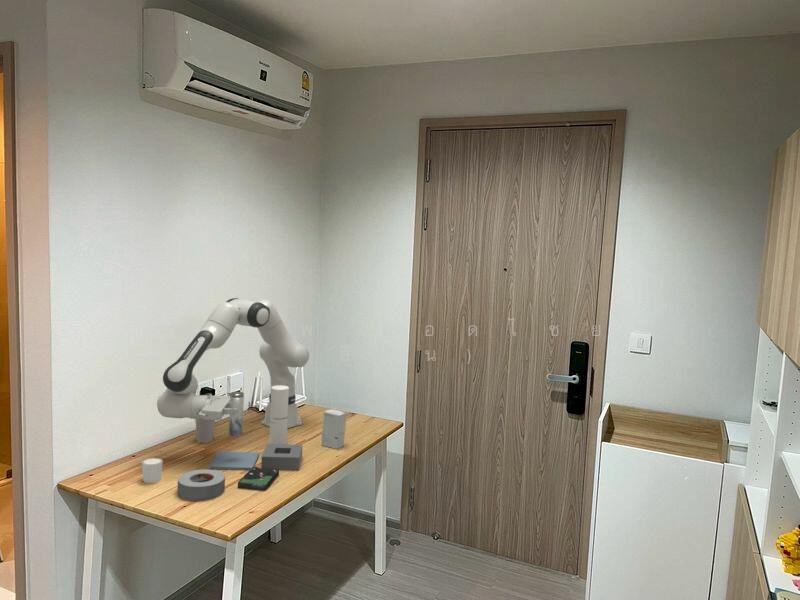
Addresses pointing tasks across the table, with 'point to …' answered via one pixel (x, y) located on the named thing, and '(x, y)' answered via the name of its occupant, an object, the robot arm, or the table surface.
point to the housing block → (282, 457)
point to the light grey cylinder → (152, 470)
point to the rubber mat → (234, 460)
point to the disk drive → (258, 479)
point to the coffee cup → (204, 430)
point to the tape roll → (201, 485)
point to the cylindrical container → (279, 414)
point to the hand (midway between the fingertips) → (238, 408)
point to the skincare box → (333, 428)
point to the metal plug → (237, 418)
